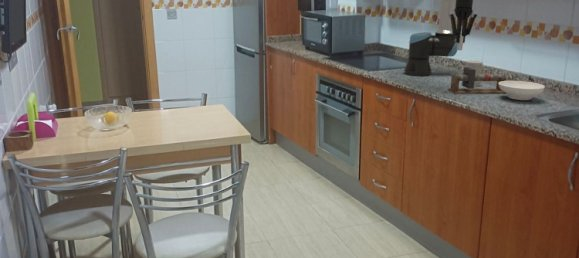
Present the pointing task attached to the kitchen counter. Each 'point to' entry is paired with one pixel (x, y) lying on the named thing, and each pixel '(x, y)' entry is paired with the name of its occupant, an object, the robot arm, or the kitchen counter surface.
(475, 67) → the light grey cylinder
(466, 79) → the pipe stand
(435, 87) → the kitchen counter surface
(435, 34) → the robot arm
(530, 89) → the bowl
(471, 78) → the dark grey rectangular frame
